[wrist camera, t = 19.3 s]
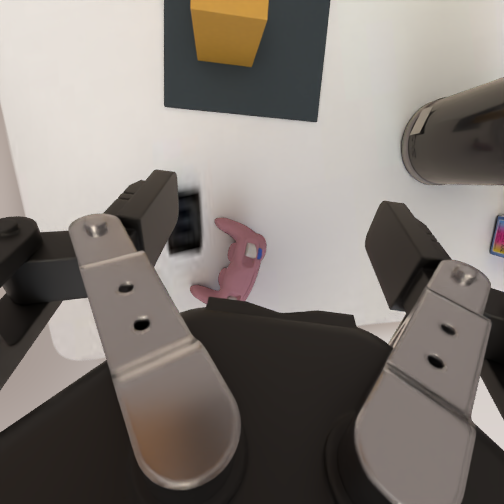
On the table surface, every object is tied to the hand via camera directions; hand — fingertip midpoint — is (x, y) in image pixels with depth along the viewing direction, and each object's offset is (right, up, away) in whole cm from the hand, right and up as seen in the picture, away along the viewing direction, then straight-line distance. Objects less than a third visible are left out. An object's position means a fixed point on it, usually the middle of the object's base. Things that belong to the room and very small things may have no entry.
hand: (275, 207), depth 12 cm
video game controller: (-4, -3, +23) cm, 23 cm away
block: (-3, +19, +17) cm, 26 cm away
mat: (-1, +19, +17) cm, 26 cm away
